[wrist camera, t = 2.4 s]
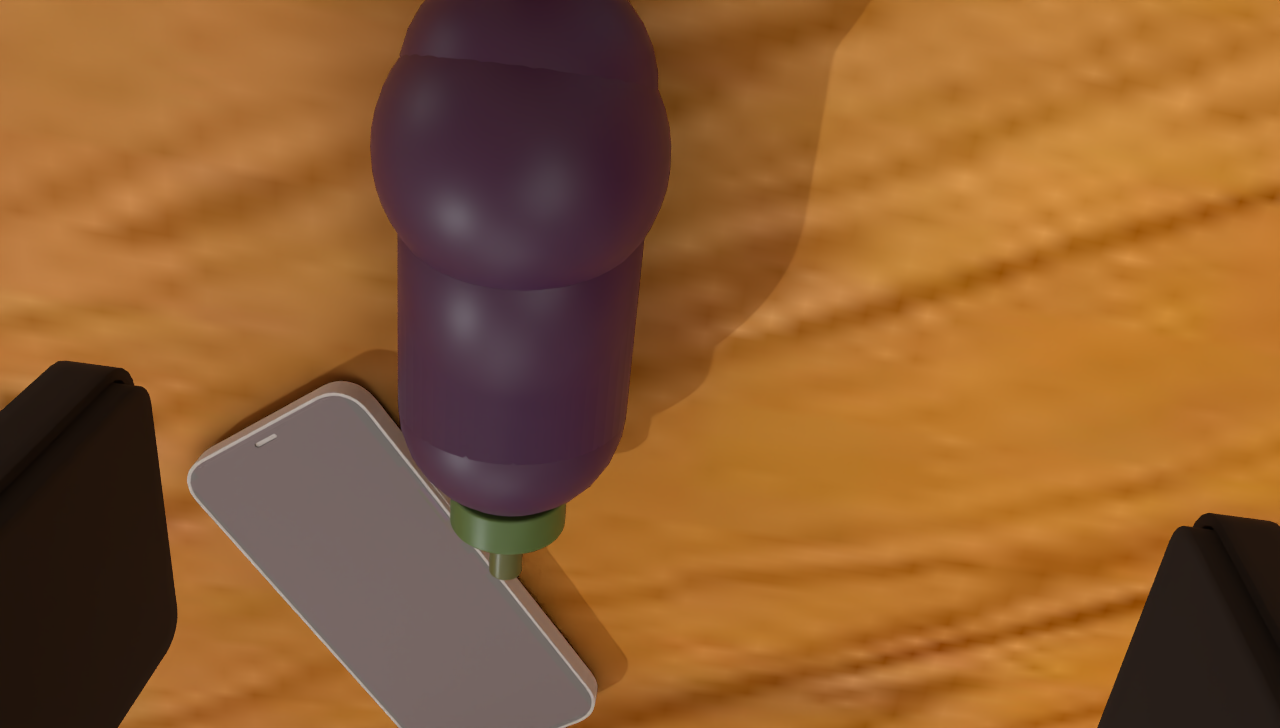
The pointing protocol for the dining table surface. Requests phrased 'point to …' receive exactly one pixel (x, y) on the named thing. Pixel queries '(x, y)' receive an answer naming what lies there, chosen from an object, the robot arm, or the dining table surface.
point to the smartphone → (387, 569)
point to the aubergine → (518, 250)
